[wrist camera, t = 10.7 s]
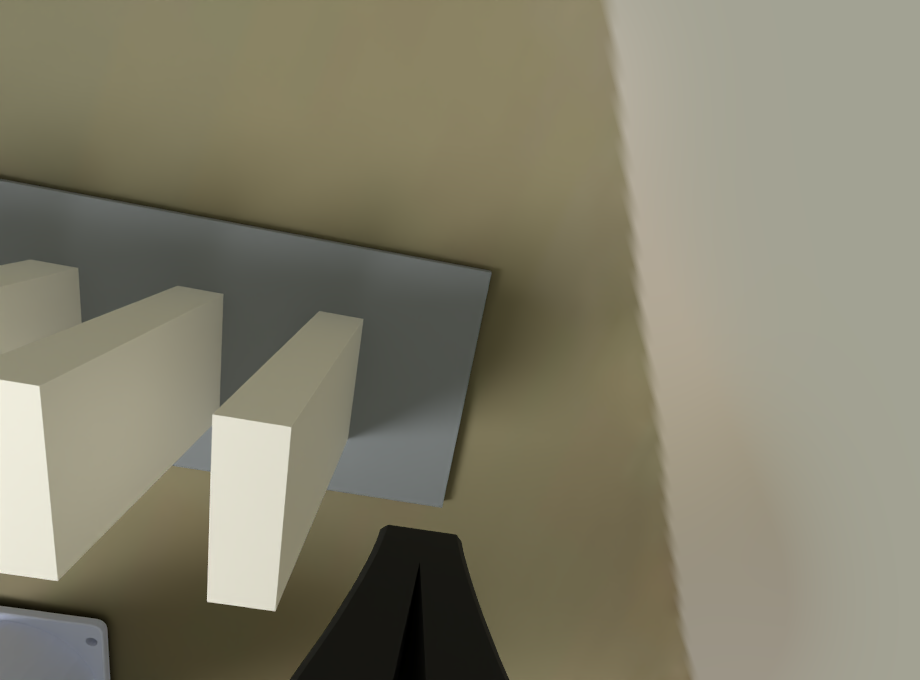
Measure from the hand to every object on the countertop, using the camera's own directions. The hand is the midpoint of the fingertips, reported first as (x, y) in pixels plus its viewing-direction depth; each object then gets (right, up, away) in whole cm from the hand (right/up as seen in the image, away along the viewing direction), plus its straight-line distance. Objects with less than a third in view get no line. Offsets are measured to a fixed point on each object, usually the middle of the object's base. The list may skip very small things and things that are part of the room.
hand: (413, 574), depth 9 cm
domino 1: (-4, +3, +10) cm, 11 cm away
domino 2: (-9, +4, +9) cm, 13 cm away
